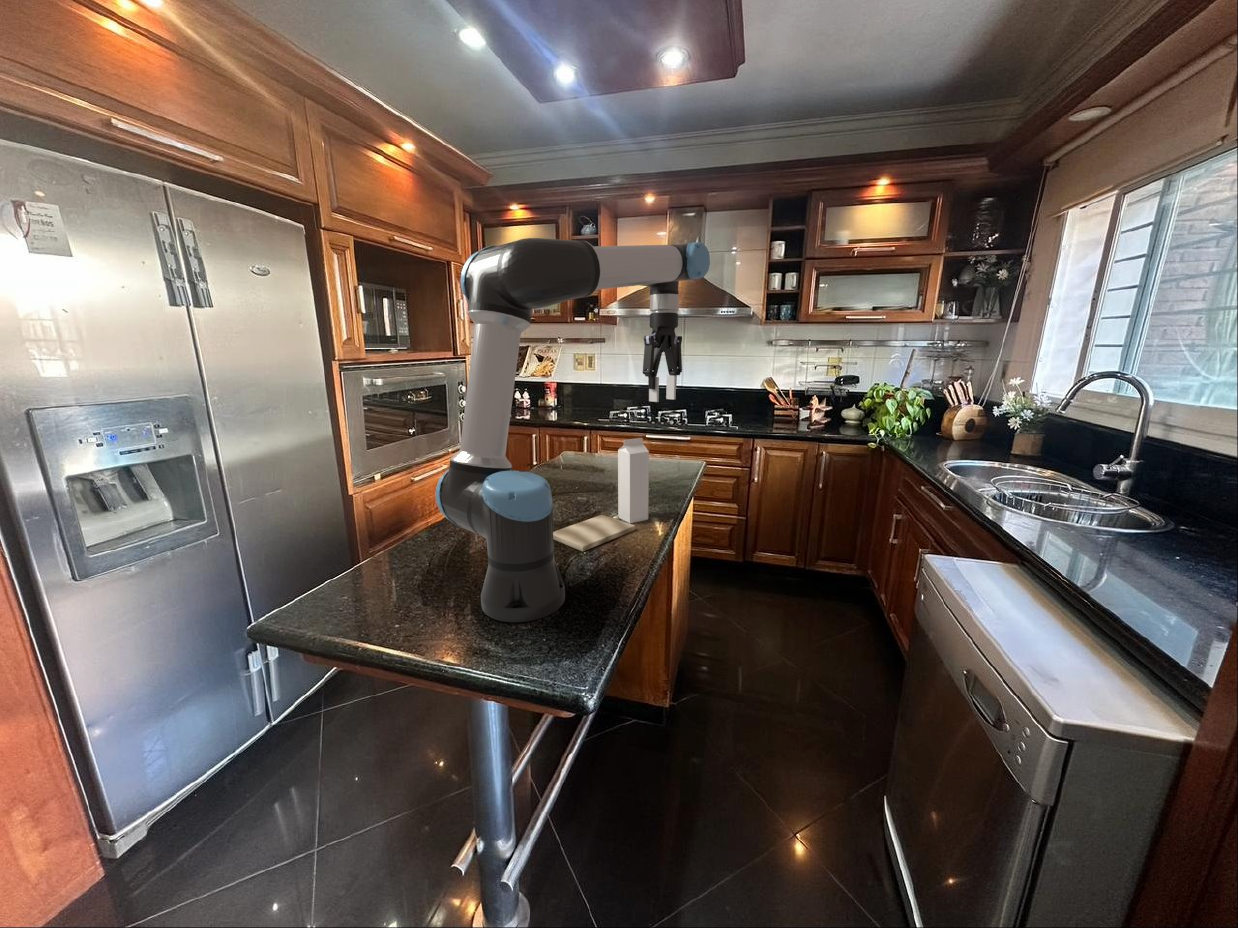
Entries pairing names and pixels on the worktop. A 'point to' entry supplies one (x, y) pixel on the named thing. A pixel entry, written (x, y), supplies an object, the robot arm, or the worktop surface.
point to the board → (592, 532)
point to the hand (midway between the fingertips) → (662, 400)
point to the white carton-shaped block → (633, 481)
